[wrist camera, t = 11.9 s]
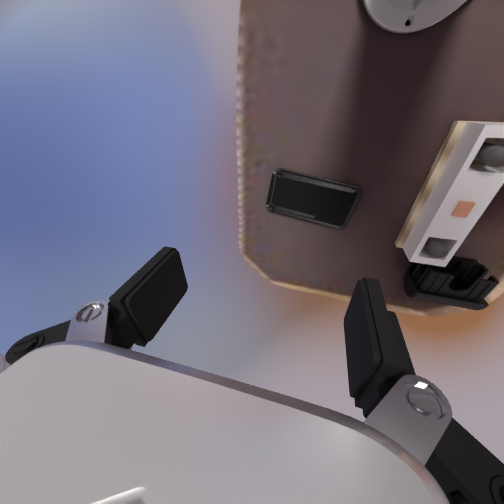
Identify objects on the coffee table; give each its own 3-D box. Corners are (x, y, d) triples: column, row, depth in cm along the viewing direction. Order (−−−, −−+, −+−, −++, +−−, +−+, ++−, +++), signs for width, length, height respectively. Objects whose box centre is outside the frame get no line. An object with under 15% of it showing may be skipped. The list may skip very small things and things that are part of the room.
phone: (273, 167, 36) (363, 189, 34) (275, 166, 37) (362, 187, 35) (264, 209, 41) (343, 230, 39) (266, 207, 42) (343, 227, 40)
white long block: (466, 121, 27) (488, 125, 23) (516, 122, 26) (546, 127, 22) (402, 247, 38) (410, 263, 34) (435, 252, 37) (446, 269, 33)
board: (453, 120, 28) (481, 125, 23) (520, 122, 26) (564, 128, 21) (394, 243, 39) (404, 264, 34) (438, 249, 37) (455, 272, 33)
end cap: (399, 279, 43) (409, 304, 38) (415, 250, 39) (430, 274, 33) (457, 289, 41) (477, 318, 35) (481, 260, 37) (508, 287, 31)
